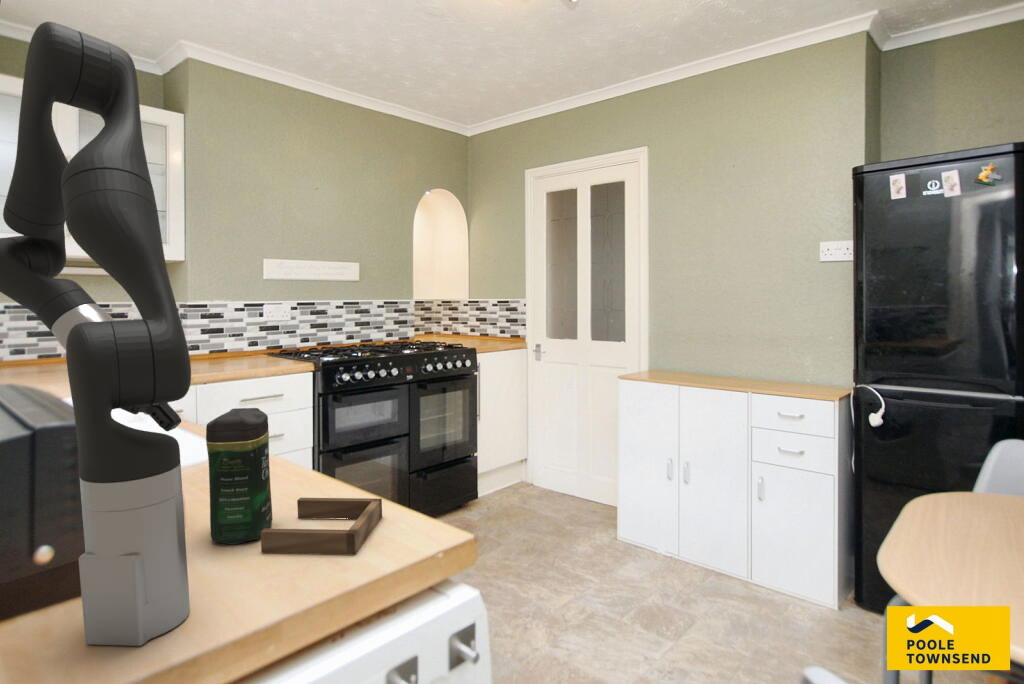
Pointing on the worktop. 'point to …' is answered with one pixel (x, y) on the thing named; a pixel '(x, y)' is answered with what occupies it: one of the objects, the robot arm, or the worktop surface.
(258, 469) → the coffee jar
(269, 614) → the worktop surface
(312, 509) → the wooden u-shaped frame
